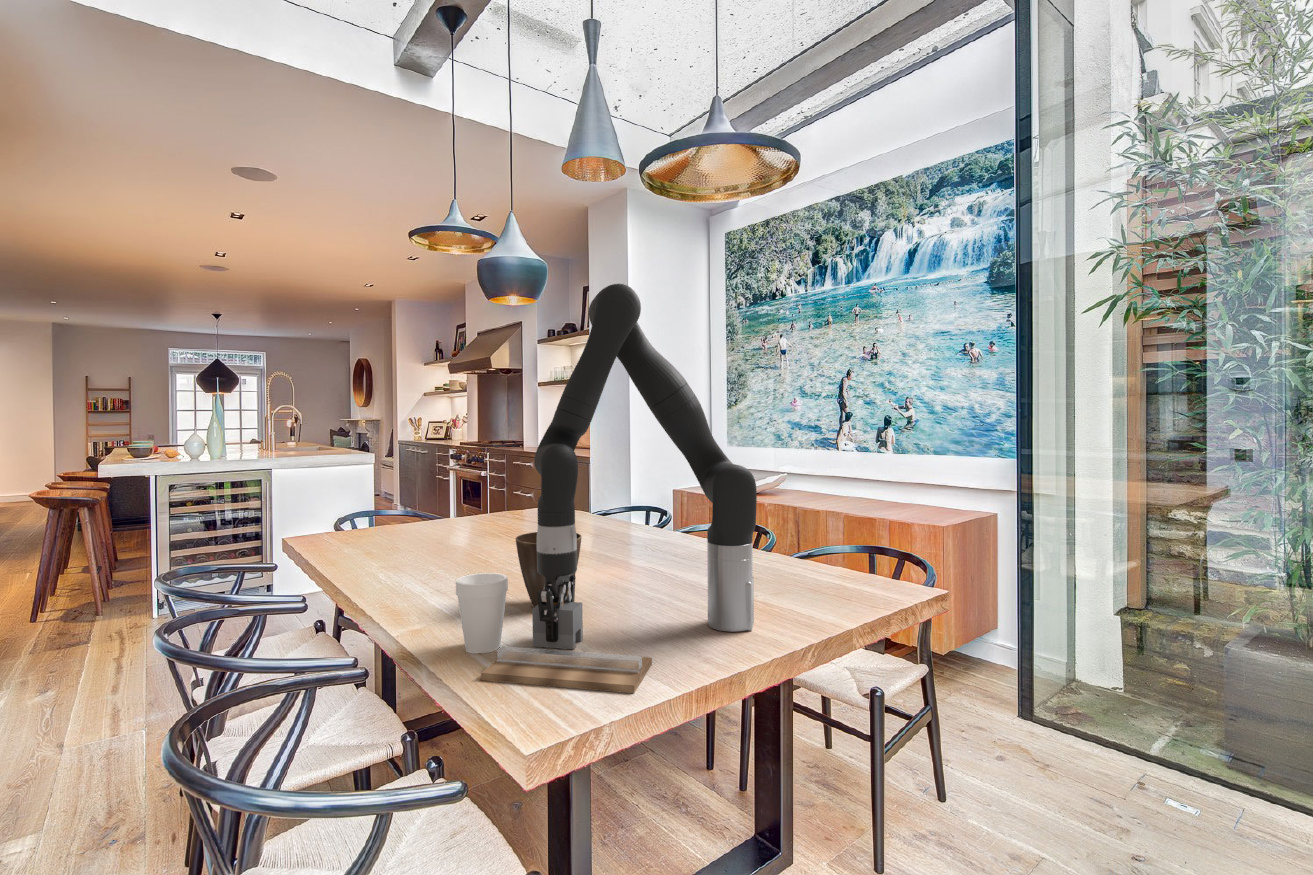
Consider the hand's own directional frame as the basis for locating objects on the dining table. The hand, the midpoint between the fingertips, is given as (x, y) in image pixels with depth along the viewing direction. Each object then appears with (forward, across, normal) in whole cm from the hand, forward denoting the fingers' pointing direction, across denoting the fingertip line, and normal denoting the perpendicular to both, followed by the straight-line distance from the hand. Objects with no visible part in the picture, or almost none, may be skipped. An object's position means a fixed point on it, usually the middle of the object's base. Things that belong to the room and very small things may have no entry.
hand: (558, 635), depth 123 cm
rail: (0, -13, -7) cm, 15 cm away
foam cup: (+2, -5, +13) cm, 14 cm away
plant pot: (+2, +23, +11) cm, 26 cm away
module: (+1, 0, 0) cm, 1 cm away
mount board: (+1, -13, -7) cm, 15 cm away
